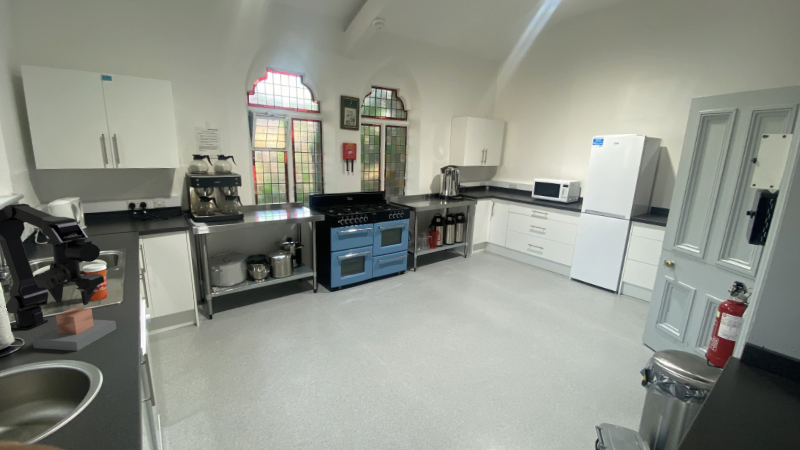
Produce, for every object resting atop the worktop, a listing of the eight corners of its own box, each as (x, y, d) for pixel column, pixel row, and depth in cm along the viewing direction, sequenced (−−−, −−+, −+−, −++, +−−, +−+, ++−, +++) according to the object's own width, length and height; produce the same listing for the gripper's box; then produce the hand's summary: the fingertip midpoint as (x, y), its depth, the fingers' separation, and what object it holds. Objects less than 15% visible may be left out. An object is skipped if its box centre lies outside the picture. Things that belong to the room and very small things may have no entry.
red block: (58, 333, 110) (55, 315, 109) (76, 324, 116) (74, 307, 114) (76, 334, 109) (73, 316, 108) (93, 325, 115) (91, 308, 114)
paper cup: (95, 302, 139) (91, 269, 136) (80, 300, 140) (76, 267, 137) (115, 295, 146) (111, 264, 144) (100, 293, 148) (96, 262, 145)
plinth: (33, 348, 106) (32, 339, 106) (77, 326, 120) (76, 318, 120) (77, 350, 106) (76, 341, 105) (116, 328, 120) (115, 320, 119)
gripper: (9, 263, 103) (17, 312, 106) (69, 268, 102) (75, 316, 105) (48, 253, 114) (55, 297, 117) (103, 257, 113) (107, 302, 116)
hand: (72, 303), depth 113 cm, fingers open, 9 cm apart
